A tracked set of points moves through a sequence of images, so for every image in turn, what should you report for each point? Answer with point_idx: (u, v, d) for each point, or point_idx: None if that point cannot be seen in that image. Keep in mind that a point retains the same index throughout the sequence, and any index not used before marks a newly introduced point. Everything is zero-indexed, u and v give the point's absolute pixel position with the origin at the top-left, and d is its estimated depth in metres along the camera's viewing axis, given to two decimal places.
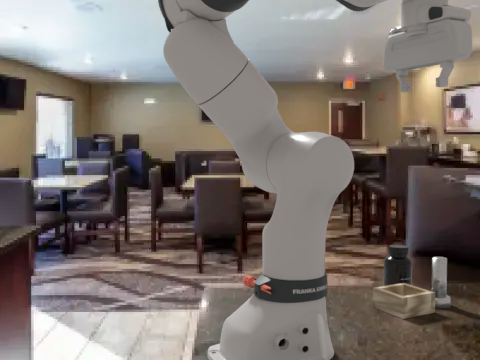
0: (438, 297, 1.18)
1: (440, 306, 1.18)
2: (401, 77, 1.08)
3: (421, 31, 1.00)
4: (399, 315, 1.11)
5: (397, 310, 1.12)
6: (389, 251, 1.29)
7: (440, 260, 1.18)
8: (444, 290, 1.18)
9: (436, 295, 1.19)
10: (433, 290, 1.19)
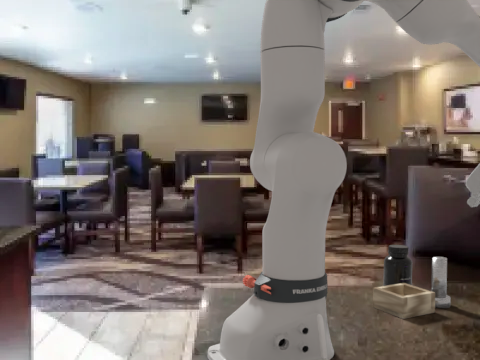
0: (438, 297, 1.18)
1: (440, 306, 1.18)
2: None
3: None
4: (399, 315, 1.11)
5: (397, 310, 1.12)
6: (389, 251, 1.29)
7: (440, 260, 1.18)
8: (444, 290, 1.18)
9: (436, 295, 1.19)
10: (433, 290, 1.19)
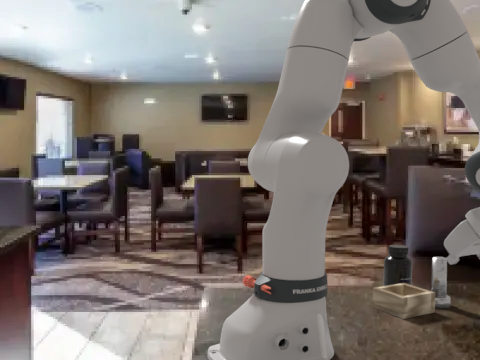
0: (438, 297, 1.18)
1: (440, 306, 1.18)
2: None
3: None
4: (399, 315, 1.11)
5: (397, 310, 1.12)
6: (389, 251, 1.29)
7: (440, 260, 1.18)
8: (444, 290, 1.18)
9: (436, 295, 1.19)
10: (433, 290, 1.19)
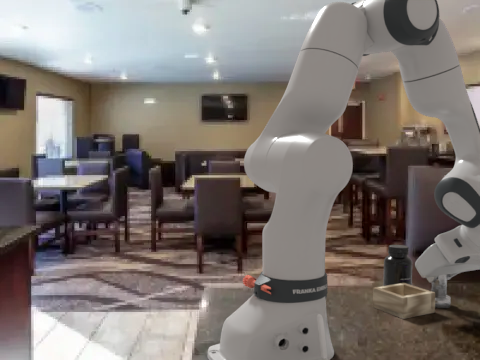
0: (438, 297, 1.18)
1: (440, 306, 1.18)
2: None
3: None
4: (399, 315, 1.11)
5: (397, 310, 1.12)
6: (389, 251, 1.29)
7: None
8: (444, 290, 1.18)
9: (436, 295, 1.19)
10: (433, 290, 1.19)
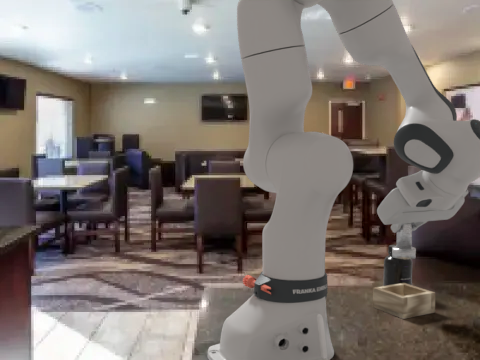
0: (402, 248, 1.14)
1: (404, 257, 1.13)
2: None
3: None
4: (399, 315, 1.11)
5: (397, 310, 1.12)
6: (389, 251, 1.29)
7: None
8: (409, 241, 1.14)
9: (400, 246, 1.14)
10: (398, 241, 1.15)
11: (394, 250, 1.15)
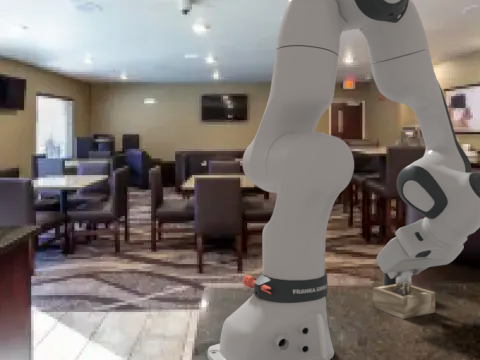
0: None
1: None
2: None
3: None
4: (399, 315, 1.11)
5: (397, 310, 1.12)
6: None
7: None
8: (408, 290, 1.15)
9: None
10: (397, 290, 1.16)
11: None
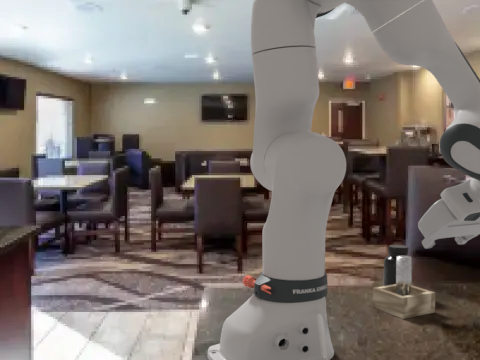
0: None
1: None
2: None
3: None
4: (399, 315, 1.11)
5: (397, 310, 1.12)
6: (389, 251, 1.29)
7: (404, 259, 1.14)
8: (408, 290, 1.15)
9: None
10: (397, 290, 1.16)
11: None
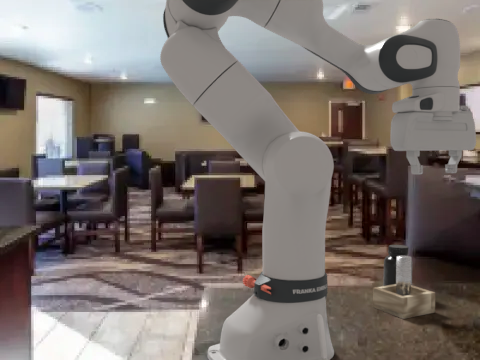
0: None
1: None
2: (452, 157, 1.06)
3: None
4: (399, 315, 1.11)
5: (397, 310, 1.12)
6: (389, 251, 1.29)
7: (404, 259, 1.14)
8: (408, 290, 1.15)
9: None
10: (397, 290, 1.16)
11: None
